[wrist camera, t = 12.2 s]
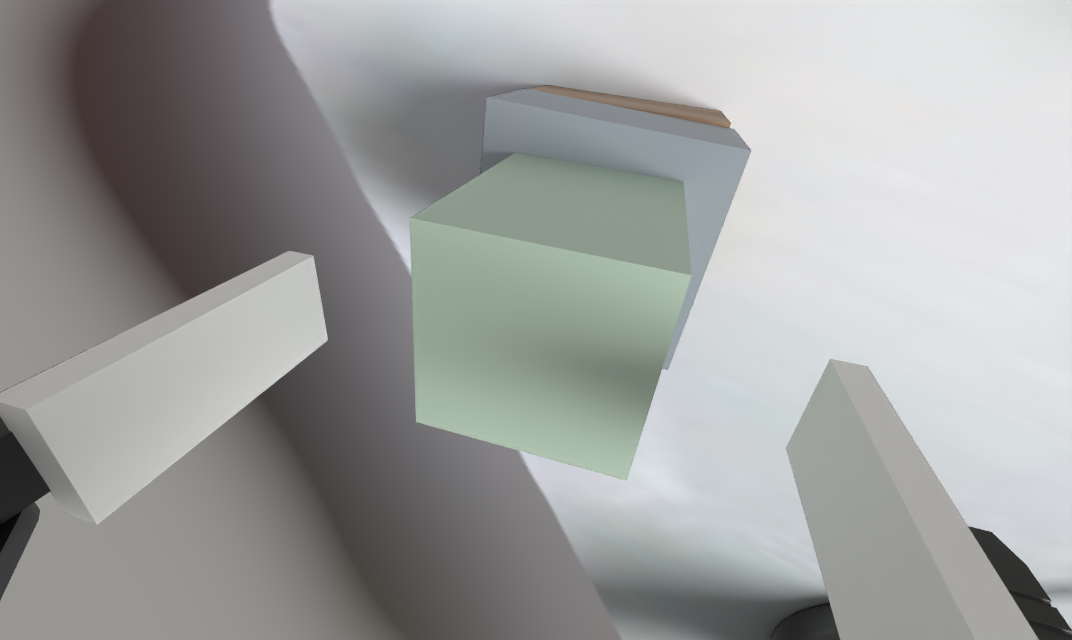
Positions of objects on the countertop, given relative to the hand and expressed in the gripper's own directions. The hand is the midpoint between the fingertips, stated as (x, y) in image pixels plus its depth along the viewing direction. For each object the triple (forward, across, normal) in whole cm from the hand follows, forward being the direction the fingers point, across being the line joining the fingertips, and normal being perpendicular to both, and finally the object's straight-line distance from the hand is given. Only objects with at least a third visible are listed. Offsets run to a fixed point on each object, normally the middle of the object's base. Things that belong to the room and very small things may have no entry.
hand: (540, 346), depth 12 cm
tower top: (+12, 0, 0) cm, 12 cm away
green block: (+7, 0, 0) cm, 7 cm away
